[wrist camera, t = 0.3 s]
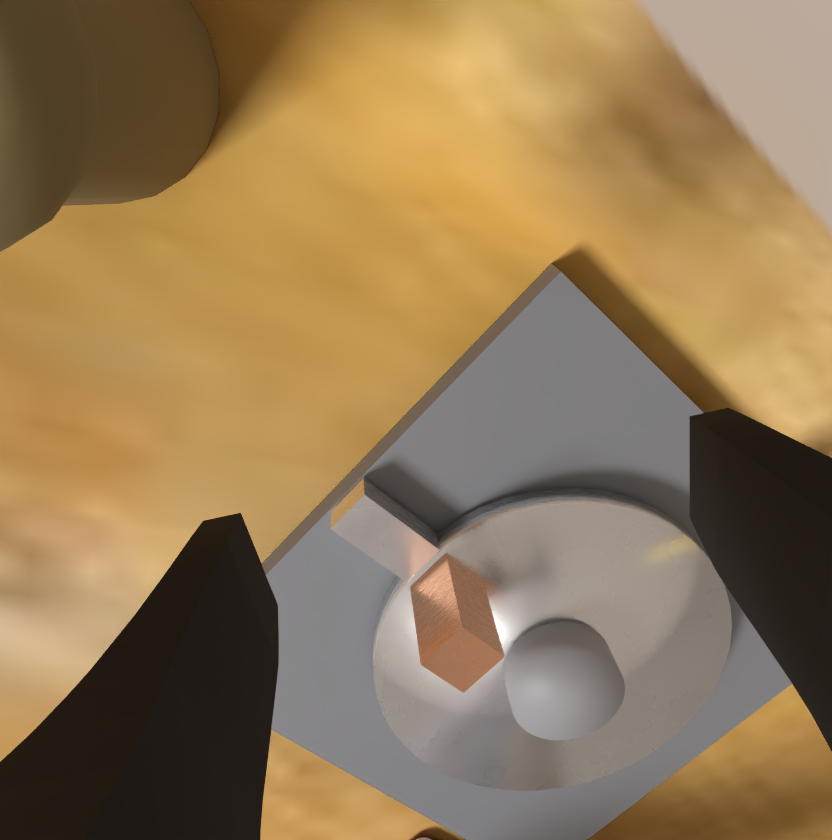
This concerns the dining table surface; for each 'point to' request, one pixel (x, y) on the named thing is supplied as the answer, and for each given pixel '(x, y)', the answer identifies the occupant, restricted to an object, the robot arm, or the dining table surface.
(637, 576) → the flange plate
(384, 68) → the dining table surface
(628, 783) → the turntable base
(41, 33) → the cork
